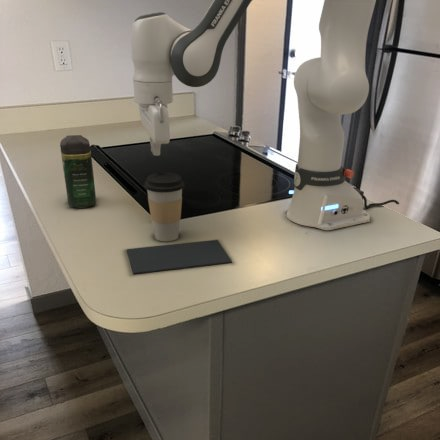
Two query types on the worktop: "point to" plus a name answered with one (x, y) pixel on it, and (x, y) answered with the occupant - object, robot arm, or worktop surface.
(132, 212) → the worktop surface
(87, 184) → the coffee jar
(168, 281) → the worktop surface
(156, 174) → the coffee cup
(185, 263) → the mat
